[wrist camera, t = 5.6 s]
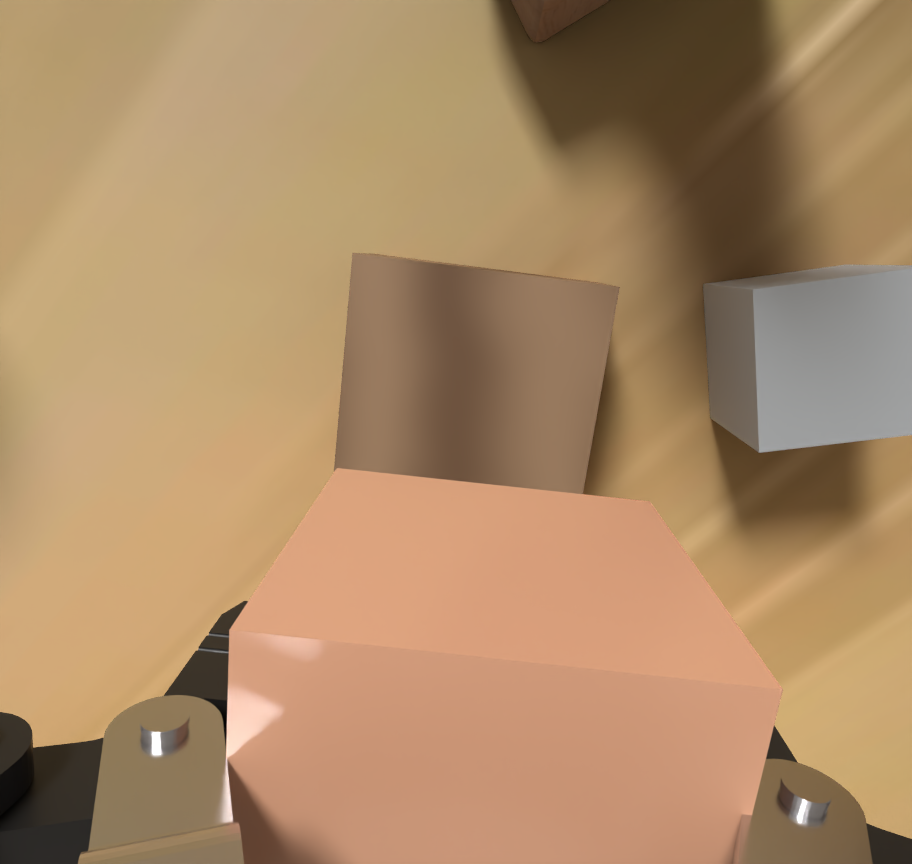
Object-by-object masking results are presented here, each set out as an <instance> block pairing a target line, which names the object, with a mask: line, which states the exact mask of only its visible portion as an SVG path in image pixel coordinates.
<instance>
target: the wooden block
mask: <svg viewBox="0 0 912 864" xmlns="http://www.w3.org/2000/svg"><path fill="white" fill-rule="evenodd" d="M608 1H610V0H511V2H512V4H513V6H514V8H515V10H516V12H517V14H518V16H519V18H520V20H521V22H522V24H523V27H524V29H525V31H526V33H527V35H528V37H529V38H531V39H532V40H533V41H534V42H541V41H545V40H546V39H548V38H549V37H551V36H553V35H554V34H556V33H558V32H559V31H561V30H563V29H564V28H566V27H567V26H569V25H571V24H572V23H574V22H576V21H577V20H579V19H581V18H582V17H584V16H585V15H587V14H589V13H590V12H592V11H594V10H595V9H597V8H599V7H600V6H602V5H603V4H605V3H607V2H608Z"/></svg>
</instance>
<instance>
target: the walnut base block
mask: <svg viewBox="0 0 912 864" xmlns="http://www.w3.org/2000/svg"><path fill="white" fill-rule="evenodd" d="M619 288H620V287H616V286H611V285H607V284H602V283H598V282H590V281H582V280H574V279H566V278H559V277H551V276H543V275H535V274H527V273H520V272H512V271H504V270H496V269H488V268H481V267H473V266H465V265H457V264H449V263H442V262H434V261H426V260H418V259H410V258H403V257H395V256H387V255H379V254H364V253H353V255H352V267H351V279H350V290H349V302H348V314H347V326H346V337H345V349H344V361H343V372H342V384H341V396H340V408H339V419H338V431H337V443H336V454H335V466H334V472H335V470H336V469H337V468H342V469H351V470H361V471H370V472H379V473H389V474H398V475H407V476H417V477H426V478H435V479H445V480H454V481H463V482H473V483H482V484H491V485H501V486H510V487H520V488H529V489H538V490H548V491H557V492H566V493H576V494H583V490H584V485H585V479H586V474H587V468H588V462H589V457H590V451H591V445H592V440H593V434H594V428H595V423H596V417H597V412H598V406H599V400H600V395H601V389H602V383H603V378H604V372H605V366H606V361H607V355H608V350H609V344H610V338H611V333H612V327H613V321H614V316H615V310H616V304H617V299H618V293H619Z"/></svg>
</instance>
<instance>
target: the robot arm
mask: <svg viewBox="0 0 912 864" xmlns="http://www.w3.org/2000/svg"><path fill="white" fill-rule="evenodd" d="M247 603H248V601H244V602H242V603H240V604H239V605H237V606H235V607H234V608H232V609H230V610H229V611H227V612H225V613H224V614H222V615H221V616H220V618H219V619H218V621H217V622H216V623H215V625H214V626H213V628H212V629H211V630H210V632H209V636H206V637H205V639H204V640H203V642H202V643H201V644H200V646H199V649H198V651H195V653H194V654H193V656H192V657H191V658H190V660H189V661H188V663H187V664H186V665H185V667H184V668H183V670H182V671H181V672H180V674H179V675H178V677H177V678H176V679H175V681H174V682H173V684H172V685H171V686H170V688H169V689H168V691H167V692H166V693H165V695H164V696H162V697H156V698H152V699H149V700H145V701H143V702H140V703H137V704H135V705H133V706H131V707H129V708H128V709H126V710H125V711H123V712H122V713H120V714H119V715H118V716H117V717H116V718H114V719H113V721H112V722H111V723H110V724H109V726H108V728H107V729H106V731H105V735H104V738H101V739H97V740H92V741H86V742H79V743H70V744H62V745H53V746H44V747H36V748H33V740H32V730H31V727H30V725H29V724H28V723H27V722H26V721H25V720H24V719H22V718H20V717H18V716H15V715H13V714H8V713H3V712H0V864H244V858H243V849H242V840H241V832H240V826H239V823H238V822H233V816H232V806H231V796H230V786H229V776H228V766H227V759H226V740H227V702H228V664H229V630H230V628H231V627H232V625H233V624H234V622H235V621H236V619H237V618H238V616H239V615H240V613H241V612H242V610H243V609H244V607H245V606H246V604H247ZM732 864H912V839H909V838H906V837H903V836H900V835H897V834H894V833H891V832H888V831H885V830H882V829H880V828H877V827H874V826H872V825H869V824H867V823H866V819H865V815H864V812H863V810H862V808H861V807H860V805H859V804H858V802H857V801H856V799H855V798H854V797H853V796H852V795H851V794H850V793H849V792H848V791H847V790H846V789H845V788H844V787H842V786H841V785H840V784H839V783H837V782H836V781H834V780H833V779H832V778H830V777H828V776H827V775H825V774H823V773H821V772H819V771H817V770H815V769H813V768H811V767H808V766H806V765H803V764H800V763H798V762H797V761H796V759H795V757H794V756H793V754H792V753H791V751H790V750H789V748H788V746H787V745H786V743H785V742H784V740H783V739H782V737H781V735H780V734H779V732H778V731H777V729H776V728H775V726H774V728H773V732H772V736H771V740H770V744H769V748H768V752H767V756H766V760H765V764H764V768H763V772H762V777H761V781H760V785H759V789H758V793H757V797H756V801H755V805H754V809H753V813H752V815H745V814H742V816H741V820H740V825H739V829H738V833H737V837H736V841H735V845H734V850H733V861H732Z"/></svg>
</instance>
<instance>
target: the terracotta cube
mask: <svg viewBox="0 0 912 864" xmlns="http://www.w3.org/2000/svg"><path fill="white" fill-rule="evenodd" d="M782 691H783V689H782V687H781V686H780V685H779V683H778V682H777V680H776V679H775V678H774V676H773V675H772V673H771V672H770V671H769V669H768V668H767V666H766V665H765V663H764V662H763V661H762V659H761V658H760V656H759V655H758V654H757V652H756V651H755V649H754V648H753V646H752V645H751V644H750V642H749V641H748V639H747V638H746V637H745V635H744V634H743V632H742V631H741V629H740V628H739V627H738V625H737V624H736V622H735V621H734V620H733V618H732V617H731V615H730V614H729V613H728V611H727V610H726V608H725V607H724V605H723V604H722V603H721V601H720V600H719V598H718V597H717V596H716V594H715V593H714V591H713V590H712V588H711V587H710V586H709V584H708V583H707V581H706V580H705V579H704V577H703V576H702V574H701V573H700V571H699V570H698V569H697V567H696V566H695V564H694V563H693V562H692V560H691V559H690V557H689V556H688V555H687V553H686V552H685V550H684V549H683V547H682V546H681V545H680V543H679V542H678V540H677V539H676V538H675V536H674V535H673V533H672V532H671V530H670V529H669V528H668V526H667V525H666V523H665V522H664V521H663V519H662V518H661V516H660V515H659V513H658V512H657V511H656V509H655V508H654V506H653V505H652V504H651V502H650V501H641V500H632V499H622V498H613V497H604V496H594V495H585V494H576V493H566V492H557V491H548V490H538V489H529V488H520V487H510V486H501V485H491V484H482V483H473V482H463V481H454V480H445V479H435V478H426V477H417V476H407V475H398V474H389V473H379V472H370V471H361V470H351V469H342V468H337V469H336V470H335V472H334V473H333V475H332V476H331V478H330V479H329V481H328V482H327V484H326V485H325V487H324V488H323V490H322V491H321V493H320V494H319V496H318V497H317V499H316V500H315V502H314V503H313V505H312V506H311V508H310V509H309V511H308V512H307V514H306V515H305V517H304V518H303V520H302V521H301V523H300V524H299V526H298V527H297V529H296V530H295V532H294V533H293V535H292V536H291V538H290V539H289V541H288V542H287V544H286V545H285V547H284V548H283V550H282V551H281V553H280V554H279V556H278V557H277V559H276V560H275V562H274V563H273V565H272V566H271V568H270V569H269V571H268V572H267V574H266V575H265V577H264V578H263V580H262V581H261V583H260V584H259V586H258V588H257V589H256V591H255V592H254V594H253V595H252V597H251V598H250V600H249V601H248V603H247V604H246V606H245V607H244V609H243V610H242V612H241V613H240V615H239V616H238V618H237V619H236V621H235V622H234V624H233V625H232V627H231V628H230V630H229V664H228V702H227V740H226V759H227V766H228V776H229V786H230V796H231V806H232V816H233V822H238V823H239V826H240V832H241V840H242V849H243V858H244V864H732V861H733V850H734V845H735V841H736V837H737V833H738V829H739V825H740V820H741V816H742V814H745V815H752V813H753V809H754V805H755V801H756V797H757V793H758V789H759V785H760V781H761V777H762V772H763V768H764V764H765V760H766V756H767V752H768V748H769V744H770V740H771V736H772V732H773V728H774V724H775V720H776V716H777V711H778V707H779V703H780V699H781V695H782Z"/></svg>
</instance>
